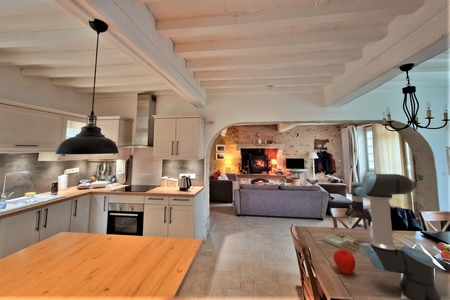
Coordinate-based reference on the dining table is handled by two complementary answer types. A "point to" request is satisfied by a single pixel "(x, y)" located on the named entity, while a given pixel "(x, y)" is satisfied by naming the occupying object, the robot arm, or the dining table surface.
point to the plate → (351, 240)
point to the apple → (344, 261)
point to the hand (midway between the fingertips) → (359, 226)
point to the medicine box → (363, 248)
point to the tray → (335, 240)
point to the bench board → (347, 245)
